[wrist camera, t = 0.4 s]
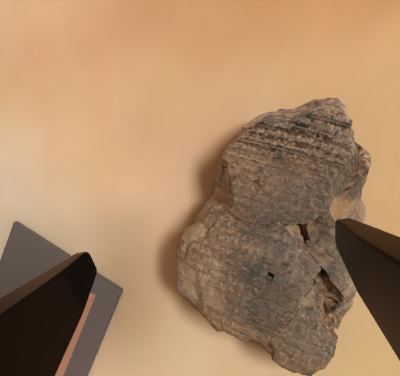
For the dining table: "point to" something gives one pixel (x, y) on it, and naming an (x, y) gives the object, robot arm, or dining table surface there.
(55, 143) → the dining table surface
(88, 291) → the robot arm
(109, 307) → the mat
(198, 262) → the grey rough flat stone
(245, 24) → the dining table surface
